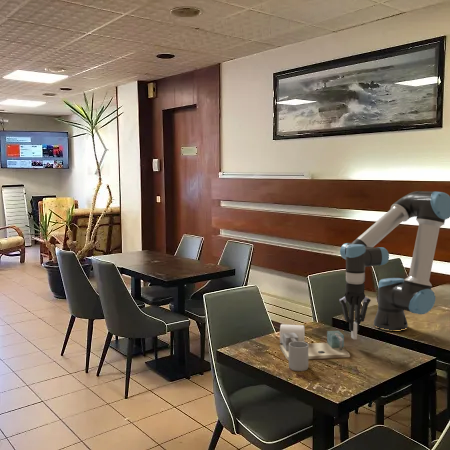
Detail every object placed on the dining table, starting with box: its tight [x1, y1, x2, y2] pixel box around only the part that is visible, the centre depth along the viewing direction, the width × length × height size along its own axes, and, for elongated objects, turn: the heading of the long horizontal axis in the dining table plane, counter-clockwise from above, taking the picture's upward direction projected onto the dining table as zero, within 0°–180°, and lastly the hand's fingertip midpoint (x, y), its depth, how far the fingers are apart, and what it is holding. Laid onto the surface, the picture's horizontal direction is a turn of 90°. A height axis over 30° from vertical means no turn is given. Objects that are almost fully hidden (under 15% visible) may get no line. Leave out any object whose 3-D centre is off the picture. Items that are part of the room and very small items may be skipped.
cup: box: [288, 341, 309, 372], centre depth 182 cm, size 7×10×9 cm
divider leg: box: [326, 330, 345, 350], centre depth 199 cm, size 5×10×5 cm, turn 6°
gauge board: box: [279, 333, 351, 361], centre depth 197 cm, size 25×14×6 cm, turn 96°
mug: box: [279, 323, 306, 344], centre depth 209 cm, size 12×10×8 cm
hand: (354, 338), depth 201 cm, fingers closed
